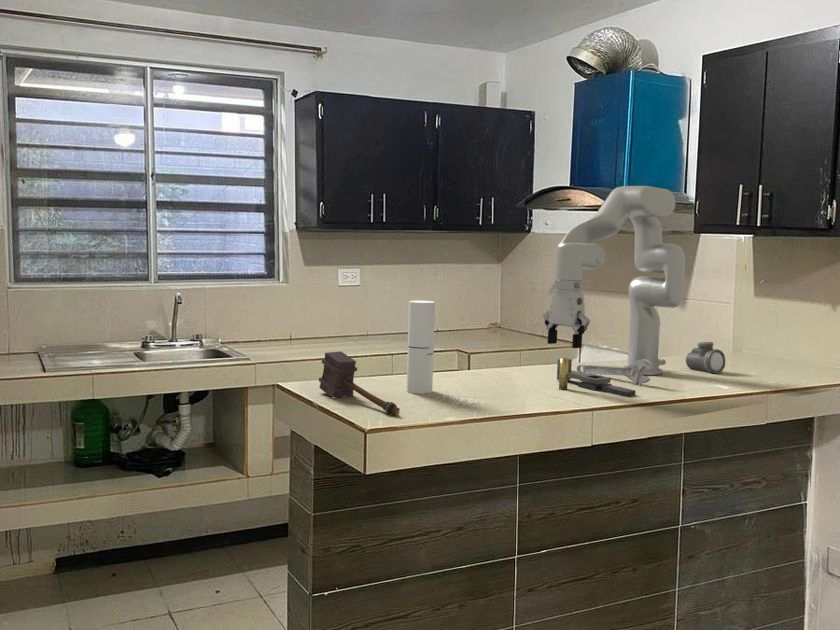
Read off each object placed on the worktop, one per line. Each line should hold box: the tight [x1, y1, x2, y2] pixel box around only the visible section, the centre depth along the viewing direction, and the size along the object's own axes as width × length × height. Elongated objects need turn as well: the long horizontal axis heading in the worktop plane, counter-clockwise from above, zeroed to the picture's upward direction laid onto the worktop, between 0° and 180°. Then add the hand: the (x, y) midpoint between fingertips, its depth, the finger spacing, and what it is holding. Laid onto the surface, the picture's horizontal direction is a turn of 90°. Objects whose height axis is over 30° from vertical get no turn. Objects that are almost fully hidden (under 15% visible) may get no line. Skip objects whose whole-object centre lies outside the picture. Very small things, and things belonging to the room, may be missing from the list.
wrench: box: [576, 359, 654, 386], centre depth 249 cm, size 8×2×30 cm
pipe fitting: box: [685, 341, 726, 375], centre depth 270 cm, size 12×8×10 cm
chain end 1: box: [556, 358, 611, 384], centre depth 239 cm, size 6×17×6 cm, turn 36°
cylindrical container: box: [406, 299, 436, 395], centre depth 222 cm, size 7×7×25 cm
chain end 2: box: [577, 381, 636, 398], centre depth 231 cm, size 7×17×1 cm, turn 36°
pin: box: [558, 357, 570, 391], centre depth 231 cm, size 2×2×9 cm
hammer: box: [318, 351, 401, 416], centre depth 205 cm, size 7×33×10 cm, turn 36°
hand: (564, 345), depth 230 cm, fingers open, 9 cm apart
